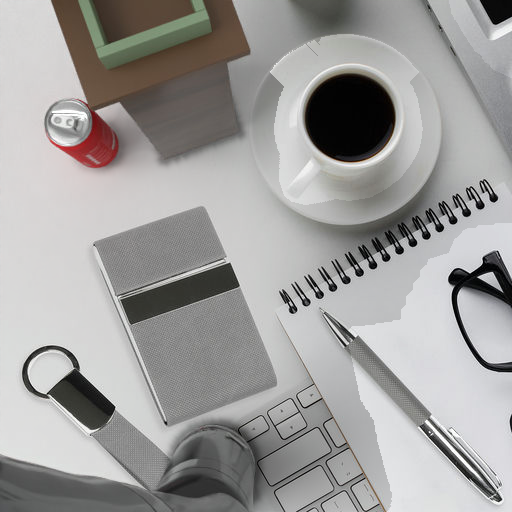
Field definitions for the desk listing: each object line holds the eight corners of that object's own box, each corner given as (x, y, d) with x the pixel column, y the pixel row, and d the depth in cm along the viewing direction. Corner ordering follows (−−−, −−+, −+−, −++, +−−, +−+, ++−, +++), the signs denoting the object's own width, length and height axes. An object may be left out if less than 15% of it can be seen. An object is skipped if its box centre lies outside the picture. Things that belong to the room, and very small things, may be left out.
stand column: (238, 132, 77) (224, 42, 48) (164, 159, 77) (105, 85, 48) (211, 60, 78) (181, -74, 49) (138, 86, 78) (63, -31, 49)
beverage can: (115, 173, 77) (88, 153, 65) (71, 164, 77) (36, 143, 65) (125, 129, 77) (99, 101, 65) (80, 120, 77) (47, 90, 65)
